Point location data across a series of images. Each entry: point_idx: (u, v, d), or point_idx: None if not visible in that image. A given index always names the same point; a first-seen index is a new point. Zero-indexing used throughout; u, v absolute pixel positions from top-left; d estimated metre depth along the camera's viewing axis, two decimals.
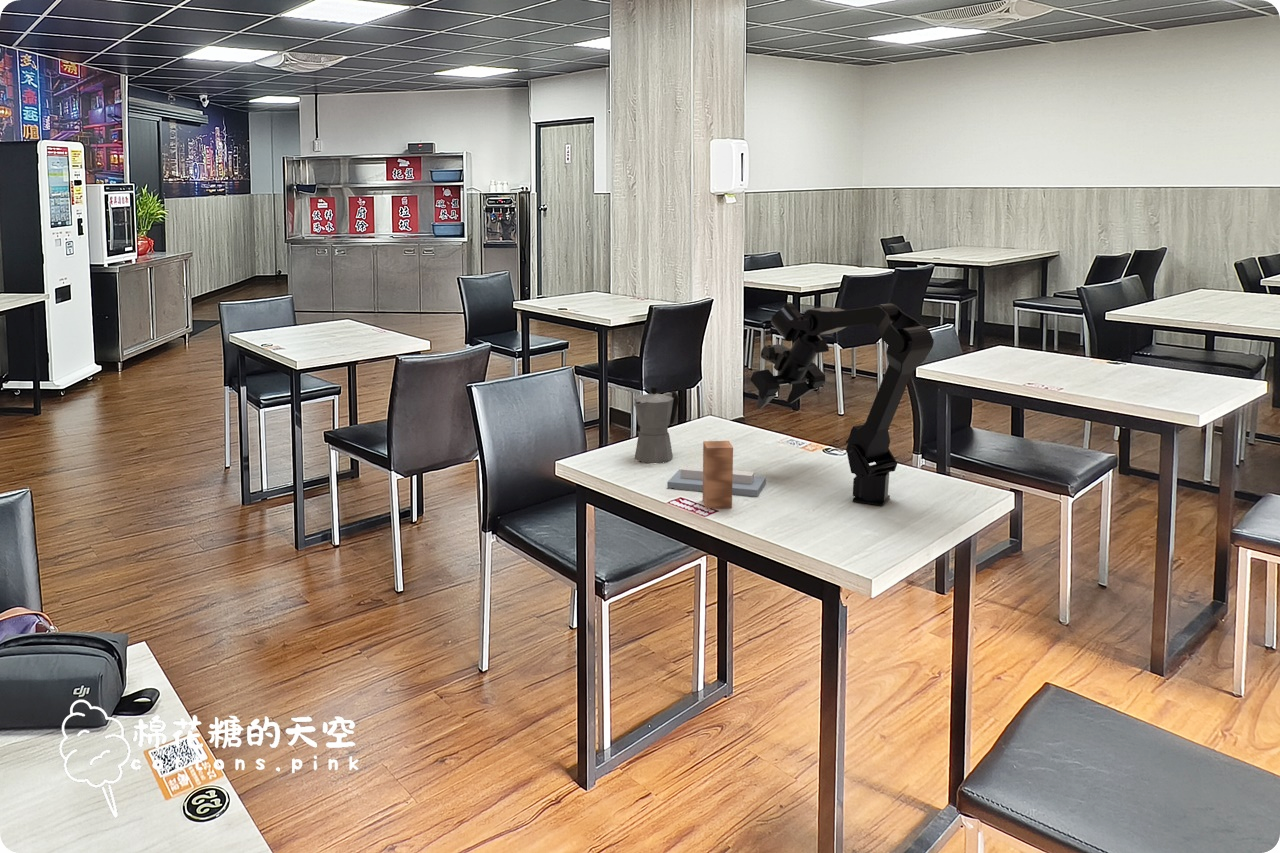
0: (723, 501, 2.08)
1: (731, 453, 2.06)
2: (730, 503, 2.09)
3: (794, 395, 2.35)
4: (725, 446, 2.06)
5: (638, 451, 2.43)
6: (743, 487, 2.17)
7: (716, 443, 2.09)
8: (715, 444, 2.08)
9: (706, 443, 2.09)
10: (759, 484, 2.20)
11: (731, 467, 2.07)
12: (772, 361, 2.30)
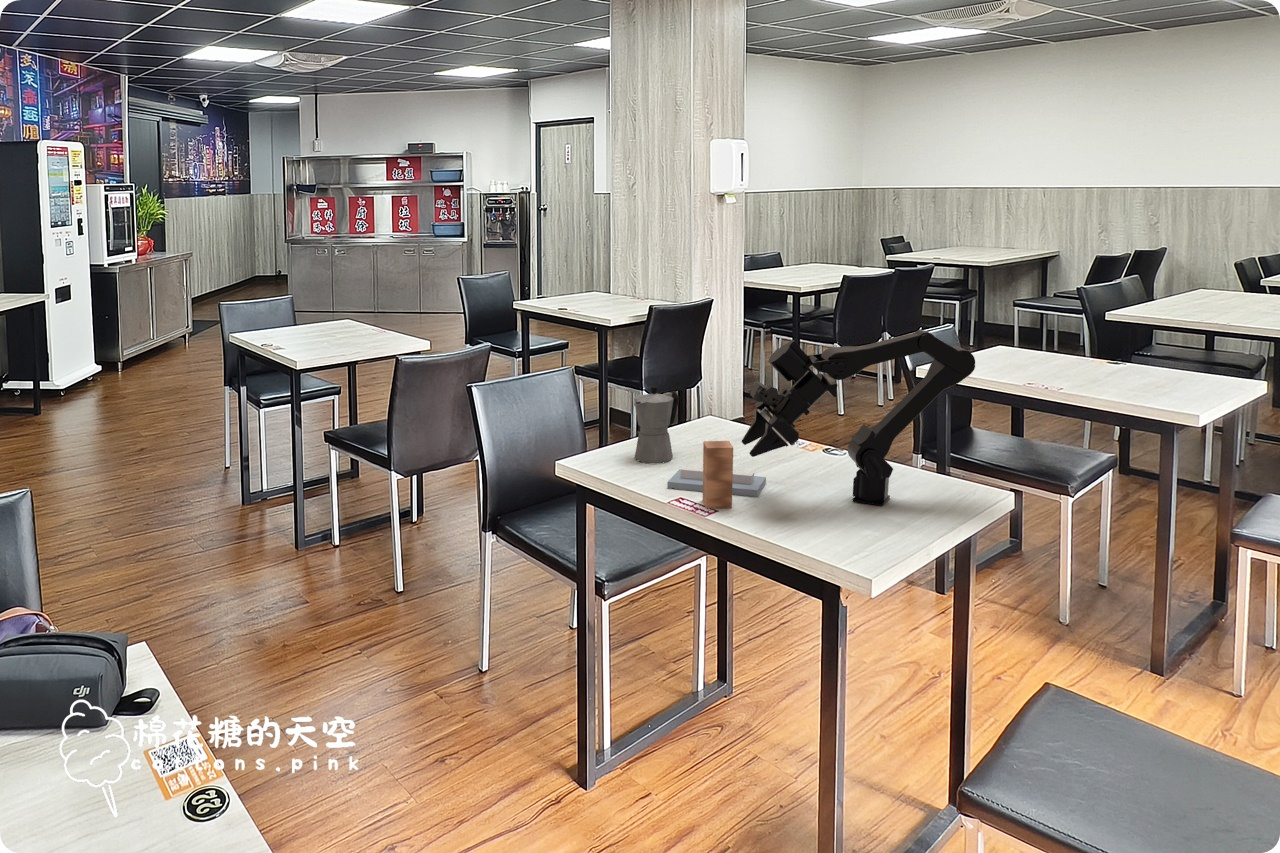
0: (723, 501, 2.08)
1: (731, 453, 2.06)
2: (730, 503, 2.09)
3: (754, 435, 2.13)
4: (725, 446, 2.06)
5: (638, 451, 2.43)
6: (743, 487, 2.17)
7: (716, 443, 2.09)
8: (715, 444, 2.08)
9: (706, 443, 2.09)
10: (759, 484, 2.20)
11: (731, 467, 2.07)
12: (769, 403, 2.04)
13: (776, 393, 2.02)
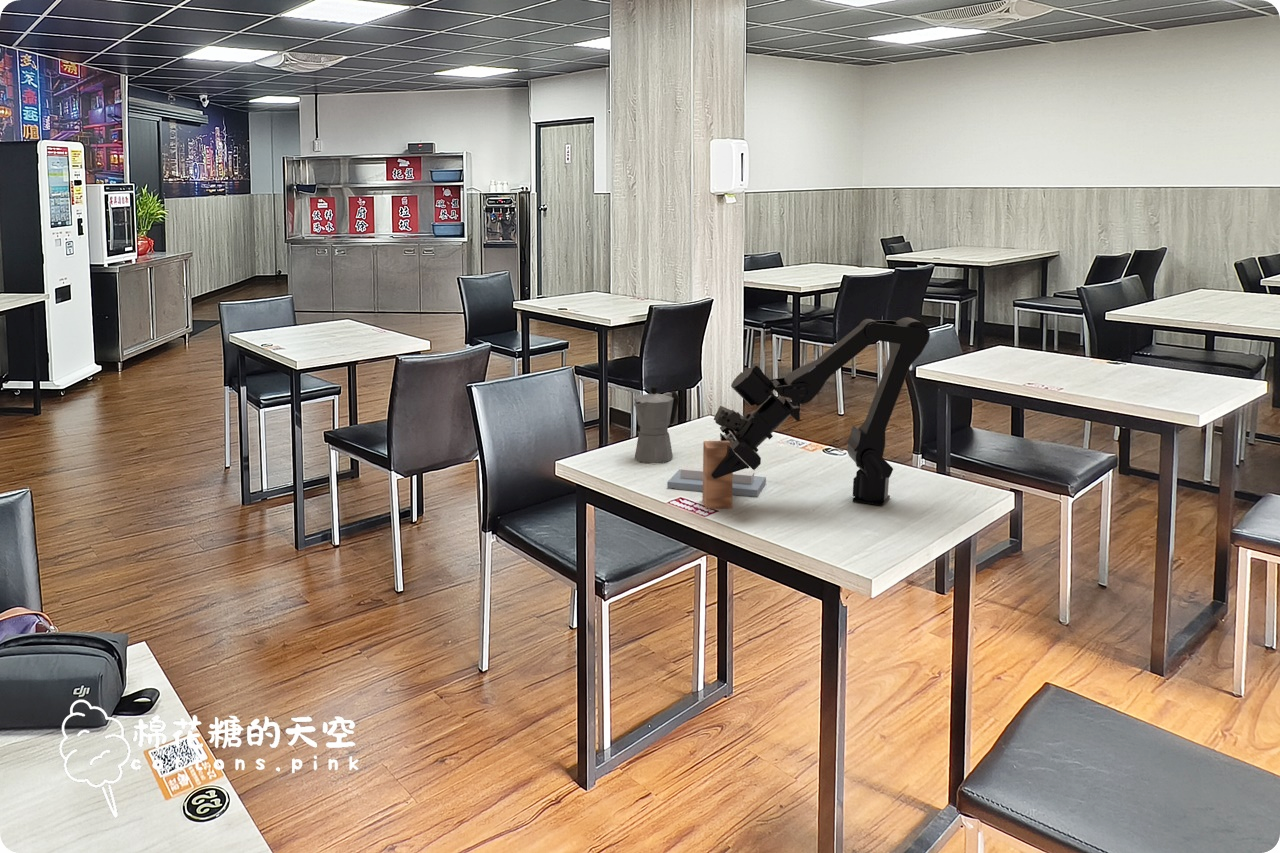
0: (723, 501, 2.08)
1: None
2: (730, 503, 2.09)
3: None
4: (725, 447, 2.06)
5: (638, 451, 2.43)
6: (743, 487, 2.17)
7: (716, 443, 2.09)
8: (715, 444, 2.08)
9: (706, 443, 2.09)
10: (759, 484, 2.20)
11: None
12: (732, 427, 2.05)
13: (738, 418, 2.03)
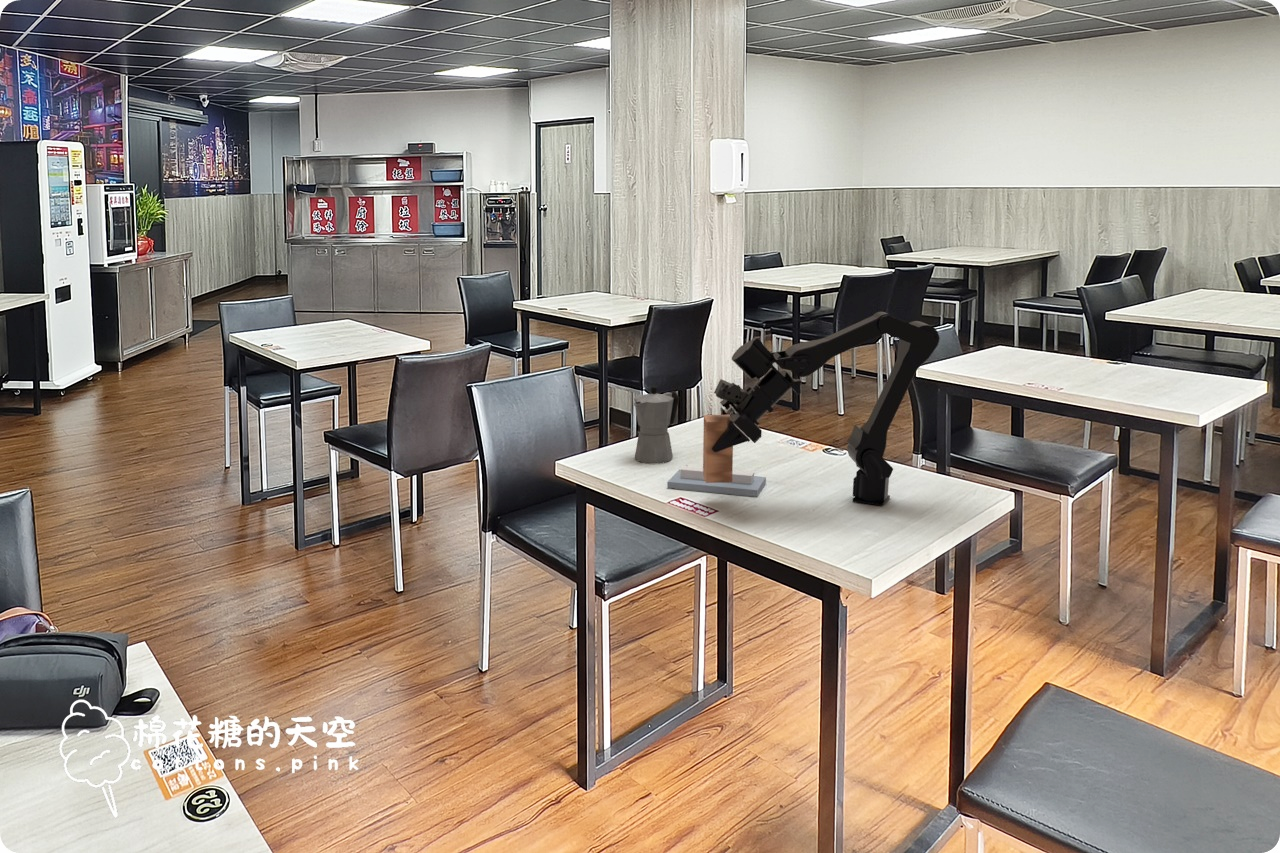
0: (723, 476, 2.07)
1: None
2: (730, 477, 2.07)
3: None
4: (725, 420, 2.05)
5: (638, 451, 2.43)
6: (743, 487, 2.17)
7: (716, 417, 2.07)
8: (715, 418, 2.06)
9: (706, 417, 2.07)
10: (759, 484, 2.20)
11: None
12: (732, 400, 2.04)
13: (739, 390, 2.01)
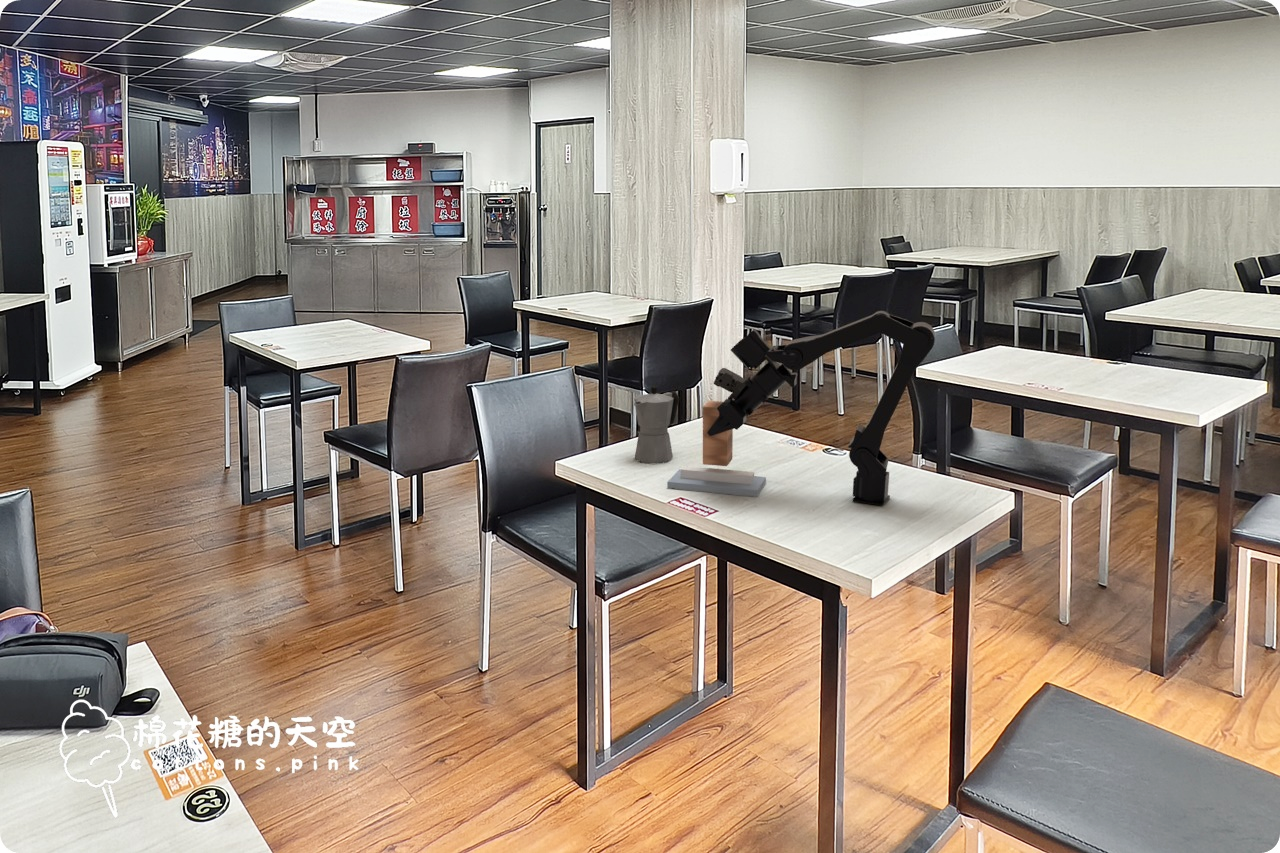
0: (718, 459, 2.19)
1: None
2: (725, 461, 2.18)
3: None
4: None
5: (638, 451, 2.43)
6: (743, 487, 2.17)
7: (717, 403, 2.19)
8: (715, 404, 2.19)
9: (708, 402, 2.20)
10: (759, 484, 2.20)
11: None
12: (727, 388, 2.15)
13: (730, 379, 2.12)
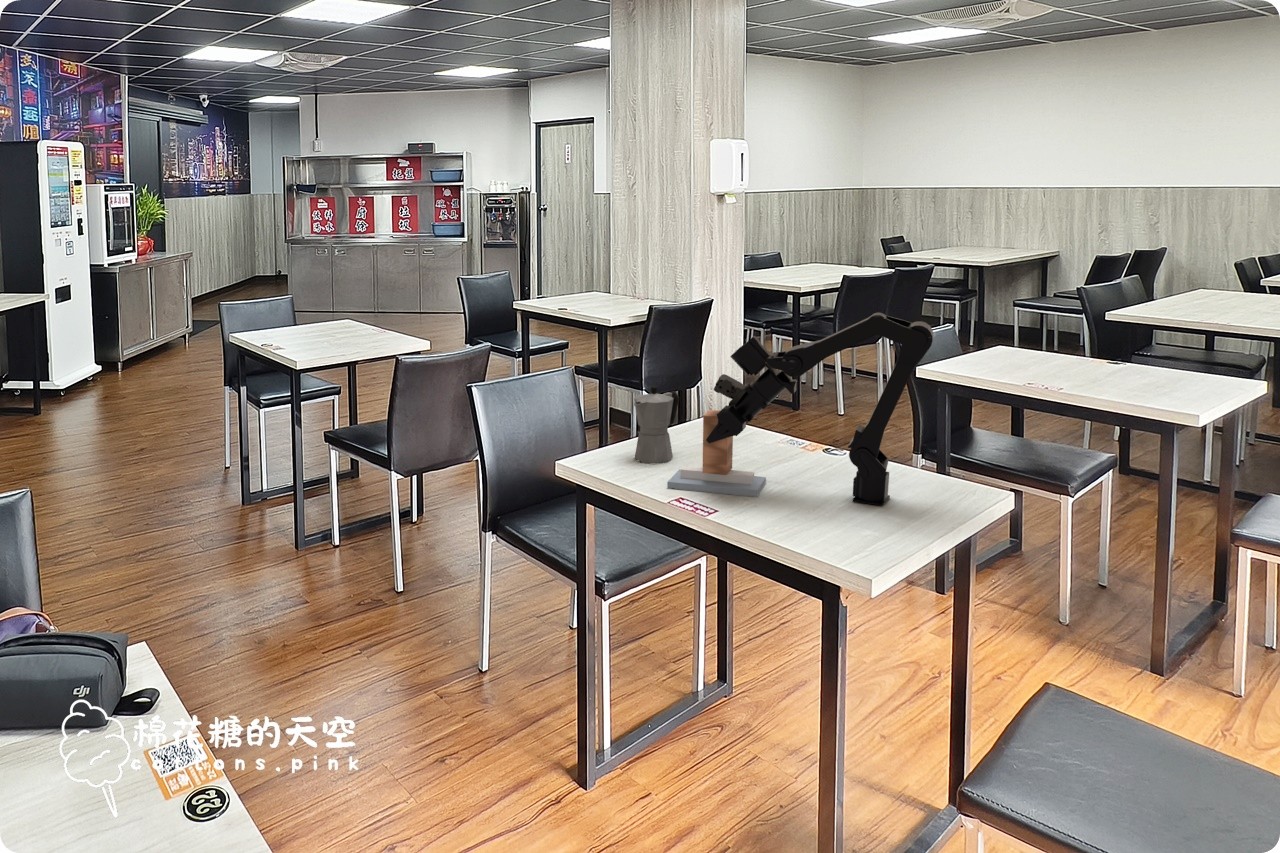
0: (718, 468, 2.20)
1: None
2: (725, 470, 2.19)
3: None
4: None
5: (638, 451, 2.43)
6: (743, 487, 2.17)
7: (718, 412, 2.20)
8: (715, 413, 2.19)
9: (709, 411, 2.21)
10: (759, 484, 2.20)
11: None
12: (727, 395, 2.15)
13: (730, 385, 2.13)
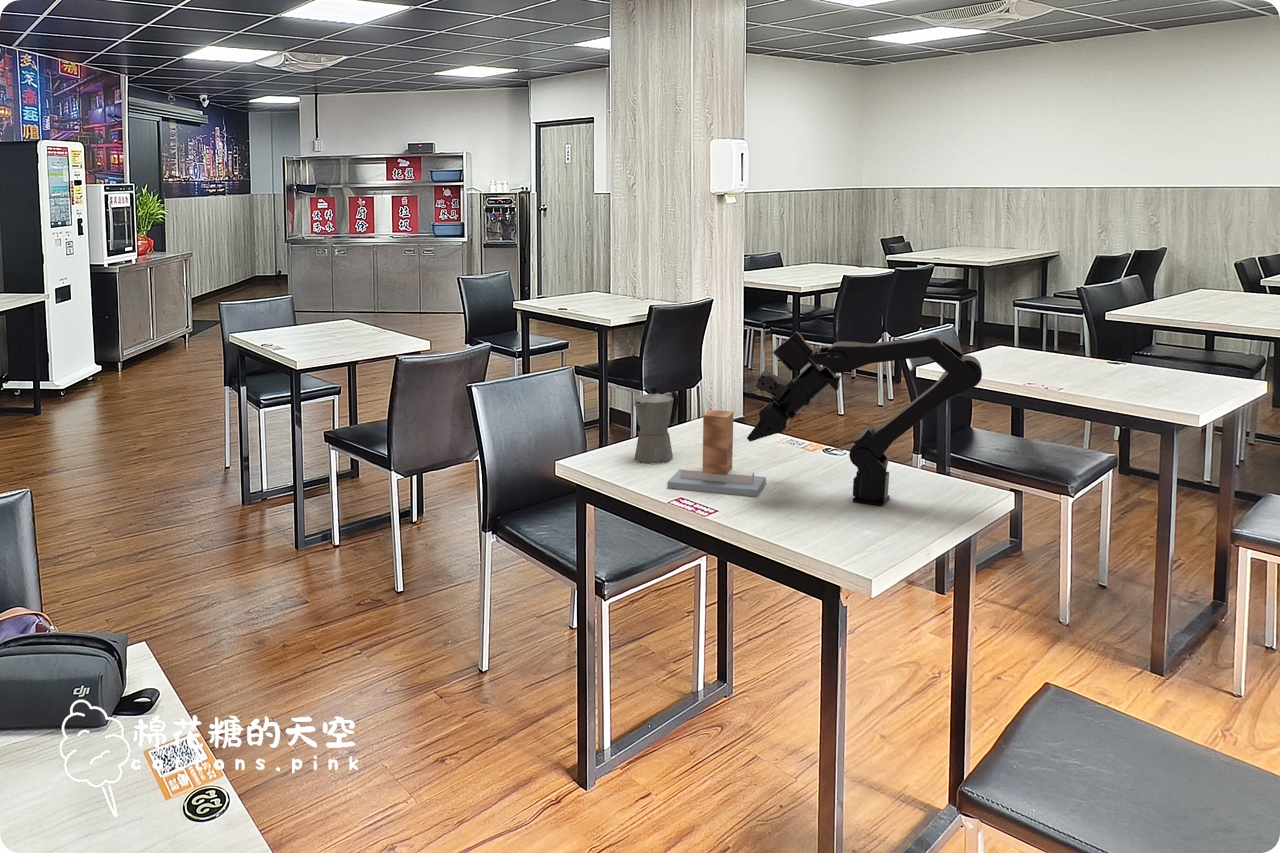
0: (718, 468, 2.20)
1: (726, 422, 2.17)
2: (725, 470, 2.19)
3: None
4: (721, 416, 2.17)
5: (638, 451, 2.43)
6: (743, 487, 2.17)
7: (718, 412, 2.20)
8: (715, 413, 2.20)
9: (709, 411, 2.21)
10: (759, 484, 2.20)
11: (726, 436, 2.17)
12: (769, 391, 2.12)
13: (773, 382, 2.10)
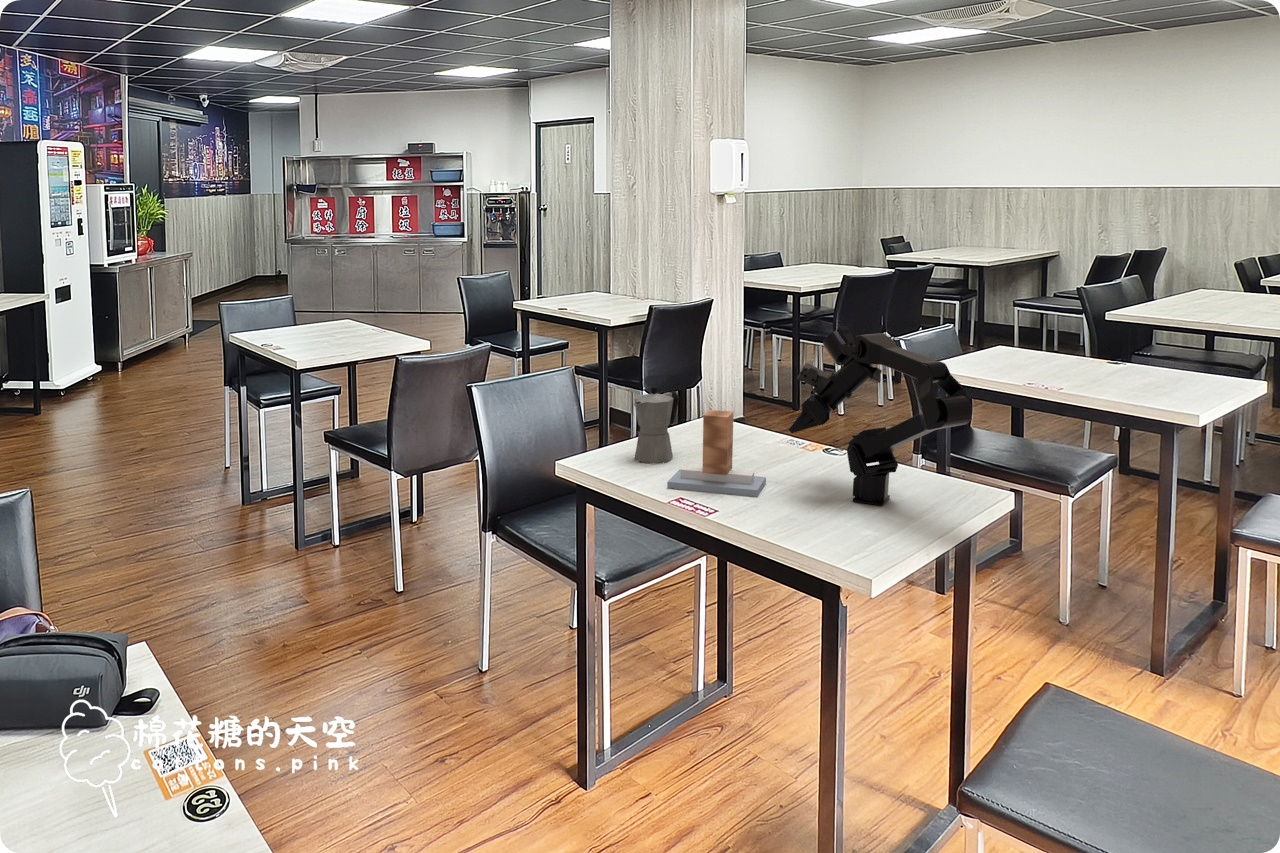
0: (718, 468, 2.20)
1: (726, 422, 2.17)
2: (725, 470, 2.19)
3: None
4: (721, 416, 2.17)
5: (638, 451, 2.43)
6: (743, 487, 2.17)
7: (718, 412, 2.20)
8: (715, 413, 2.20)
9: (709, 411, 2.21)
10: (759, 484, 2.20)
11: (726, 436, 2.17)
12: (811, 383, 2.14)
13: (815, 374, 2.12)
